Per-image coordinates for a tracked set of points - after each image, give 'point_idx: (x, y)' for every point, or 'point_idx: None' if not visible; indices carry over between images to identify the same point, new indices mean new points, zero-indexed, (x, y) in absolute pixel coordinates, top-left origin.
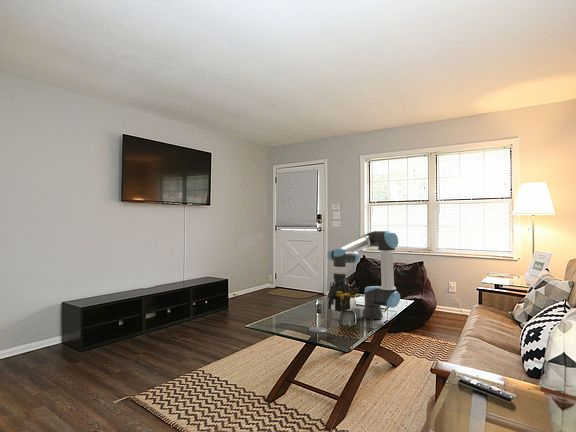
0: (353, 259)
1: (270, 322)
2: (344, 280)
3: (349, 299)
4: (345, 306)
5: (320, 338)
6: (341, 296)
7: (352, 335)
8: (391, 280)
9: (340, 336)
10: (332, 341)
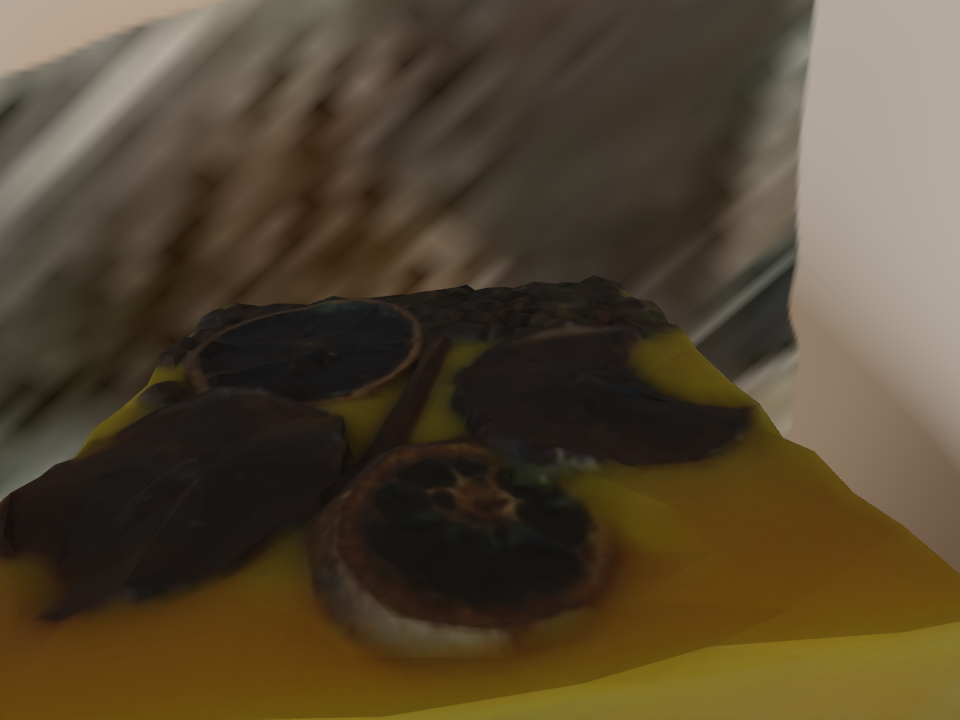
0: None
1: None
2: None
3: (113, 469)
4: (432, 328)
5: (699, 300)
6: (930, 562)
7: (330, 152)
8: None
9: (485, 218)
10: (697, 149)
